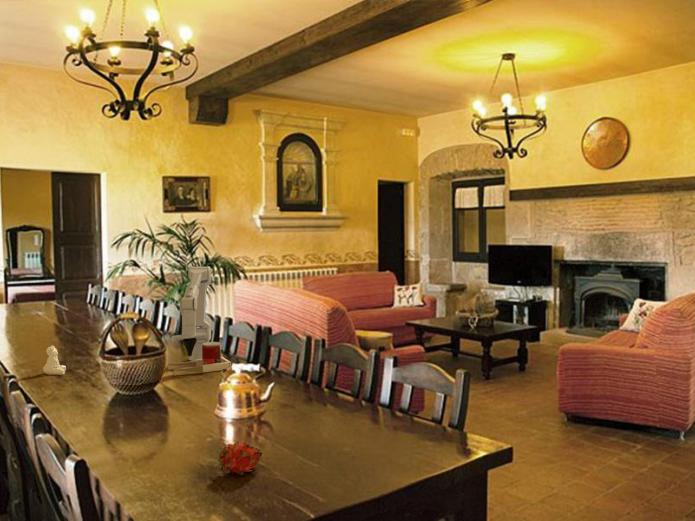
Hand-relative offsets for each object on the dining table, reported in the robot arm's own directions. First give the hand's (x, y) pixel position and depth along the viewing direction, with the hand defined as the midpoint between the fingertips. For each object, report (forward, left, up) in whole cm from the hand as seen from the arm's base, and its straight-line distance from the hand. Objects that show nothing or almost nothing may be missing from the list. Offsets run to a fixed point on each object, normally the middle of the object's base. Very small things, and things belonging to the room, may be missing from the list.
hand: (189, 355), depth 261 cm
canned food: (0, +9, -7) cm, 12 cm away
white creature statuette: (-24, -52, -7) cm, 58 cm away
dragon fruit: (+116, -16, -7) cm, 117 cm away
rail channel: (0, -2, -6) cm, 7 cm away
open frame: (0, +10, -6) cm, 12 cm away
